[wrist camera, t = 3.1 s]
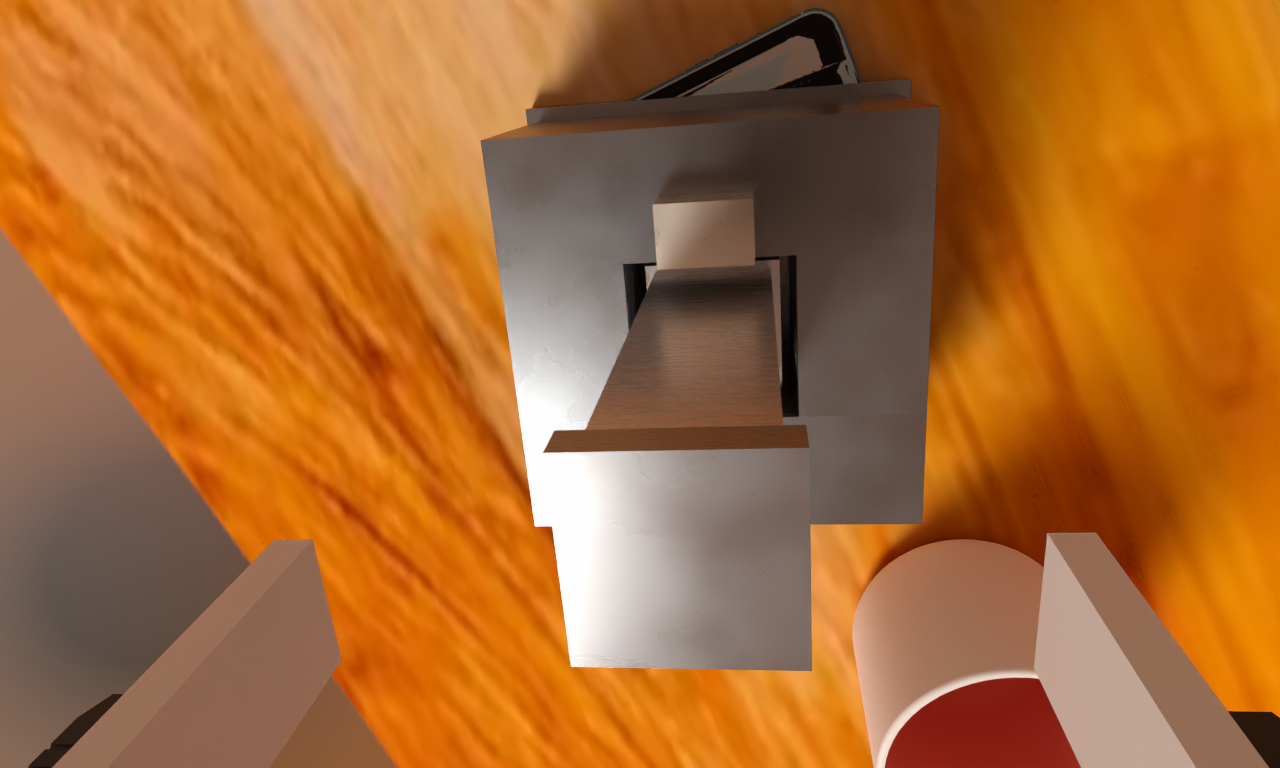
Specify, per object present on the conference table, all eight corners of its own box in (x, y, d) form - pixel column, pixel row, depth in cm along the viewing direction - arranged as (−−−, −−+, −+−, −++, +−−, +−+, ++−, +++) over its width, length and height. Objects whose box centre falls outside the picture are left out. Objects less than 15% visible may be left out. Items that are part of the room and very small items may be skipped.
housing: (531, 107, 35) (447, 129, 26) (906, 78, 33) (970, 89, 23) (571, 438, 41) (513, 559, 31) (896, 431, 38) (945, 559, 29)
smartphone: (492, 169, 36) (829, -4, 32) (498, 166, 37) (828, -3, 33) (571, 322, 38) (899, 178, 34) (576, 315, 39) (895, 175, 35)
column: (659, 230, 35) (542, 452, 16) (777, 223, 34) (809, 447, 15) (667, 341, 37) (570, 666, 17) (780, 337, 36) (811, 670, 17)
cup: (986, 488, 39) (1058, 624, 30) (1105, 636, 41) (1207, 806, 32) (808, 597, 42) (823, 750, 33) (926, 729, 44) (972, 908, 35)
